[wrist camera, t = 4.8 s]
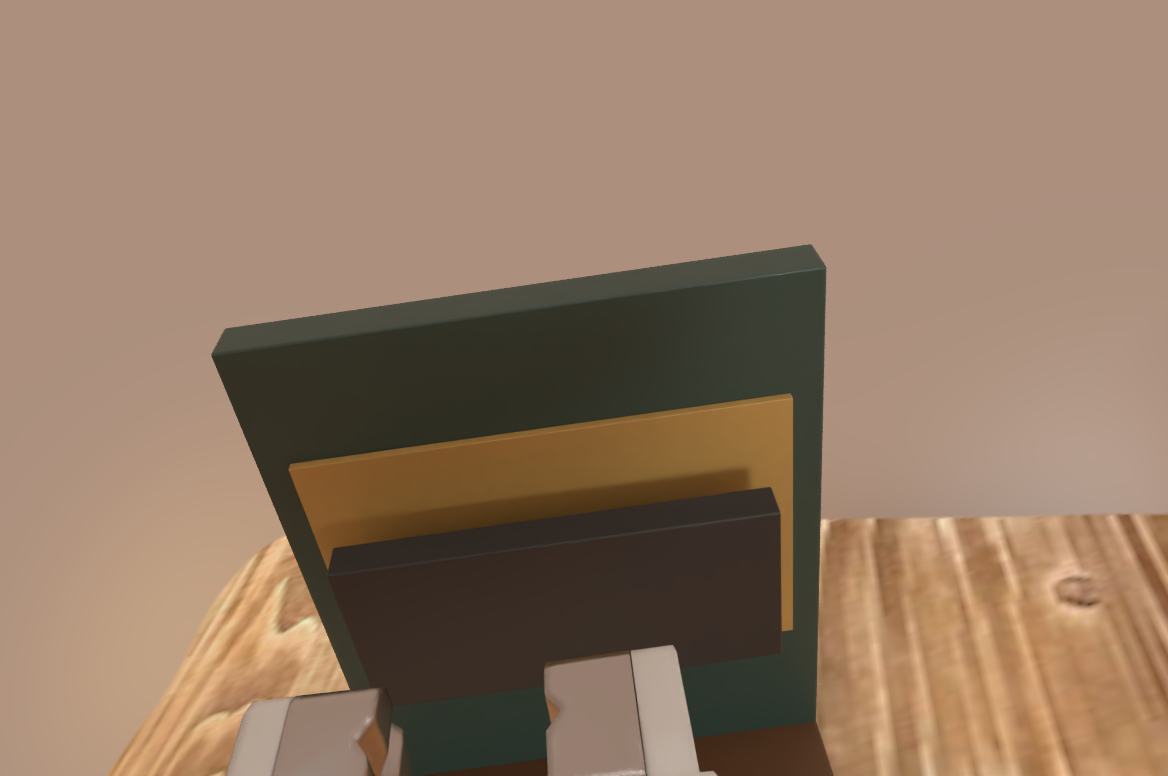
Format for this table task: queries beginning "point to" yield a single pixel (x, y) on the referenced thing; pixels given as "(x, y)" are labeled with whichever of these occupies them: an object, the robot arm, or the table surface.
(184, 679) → the table surface
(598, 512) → the switch button
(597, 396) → the switch stand
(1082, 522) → the table surface
